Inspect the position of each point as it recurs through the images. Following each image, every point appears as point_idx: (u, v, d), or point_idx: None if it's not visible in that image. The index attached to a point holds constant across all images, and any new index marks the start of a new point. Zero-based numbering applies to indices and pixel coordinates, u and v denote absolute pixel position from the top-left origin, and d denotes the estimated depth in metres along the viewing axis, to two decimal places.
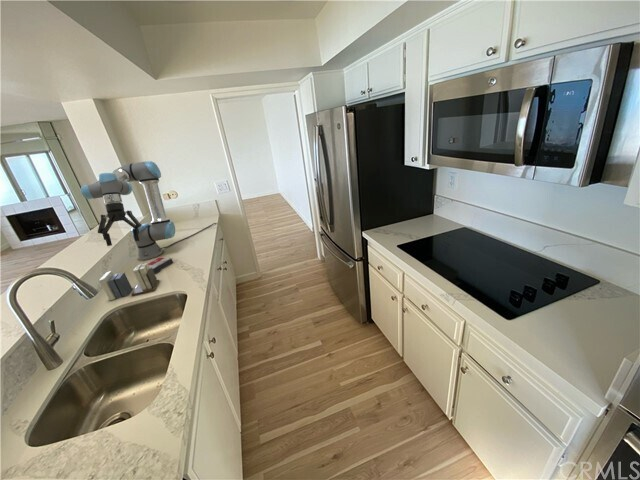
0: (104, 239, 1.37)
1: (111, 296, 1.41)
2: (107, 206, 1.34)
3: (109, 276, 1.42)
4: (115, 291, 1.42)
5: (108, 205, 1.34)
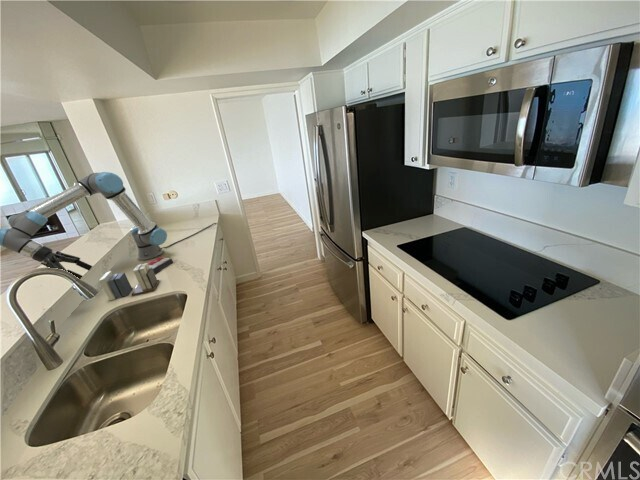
0: None
1: (111, 296, 1.41)
2: None
3: (109, 276, 1.42)
4: (115, 291, 1.42)
5: None
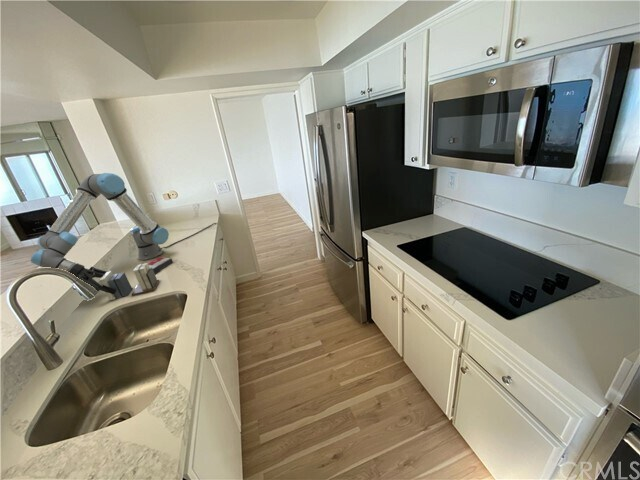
0: None
1: (111, 296, 1.41)
2: None
3: (109, 276, 1.42)
4: None
5: None
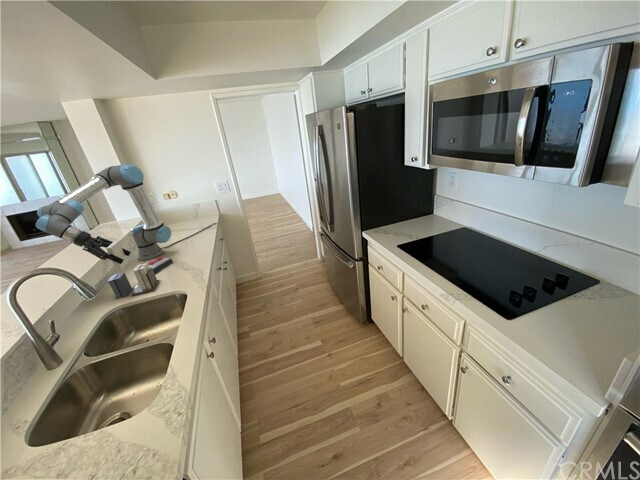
0: None
1: (118, 266, 1.37)
2: None
3: (116, 245, 1.38)
4: (115, 291, 1.42)
5: None
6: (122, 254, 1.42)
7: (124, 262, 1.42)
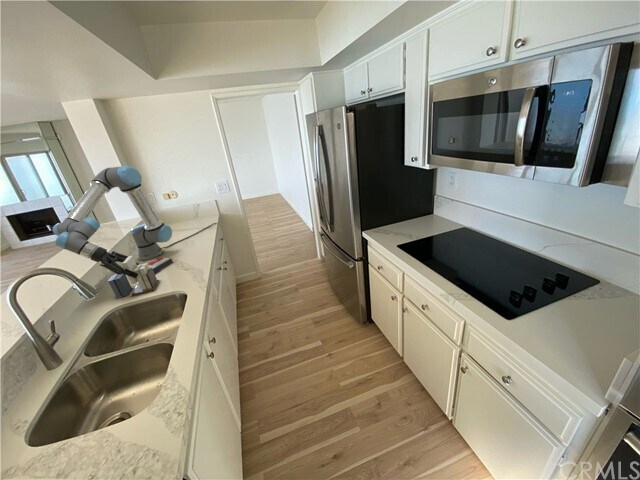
0: None
1: (133, 280, 1.41)
2: None
3: (131, 260, 1.42)
4: (115, 291, 1.42)
5: None
6: None
7: None
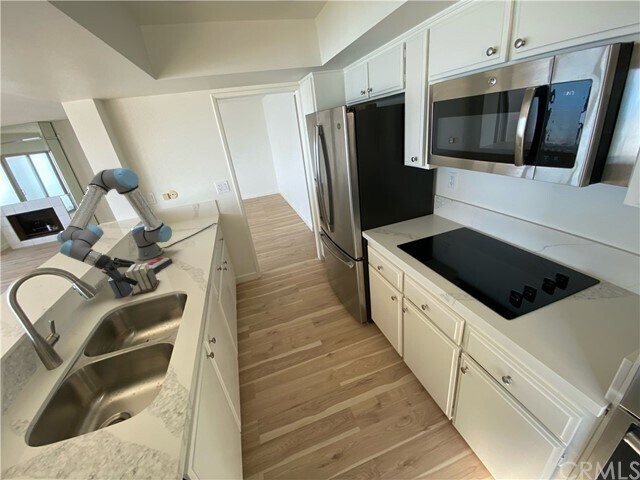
0: None
1: (137, 288, 1.44)
2: None
3: None
4: (115, 291, 1.42)
5: None
6: None
7: None
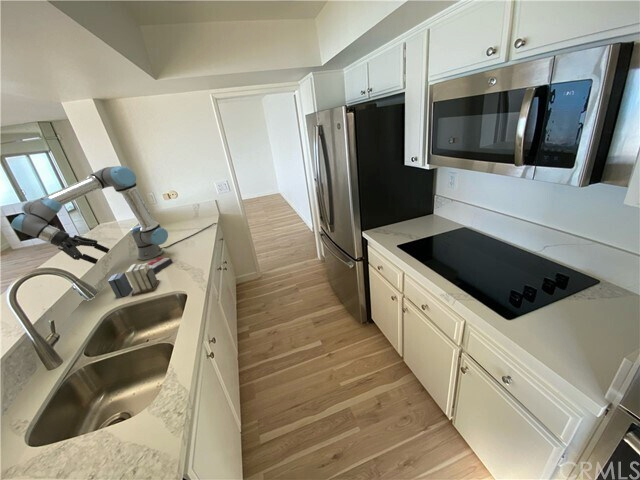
0: None
1: (137, 288, 1.44)
2: None
3: None
4: (115, 291, 1.42)
5: None
6: None
7: None
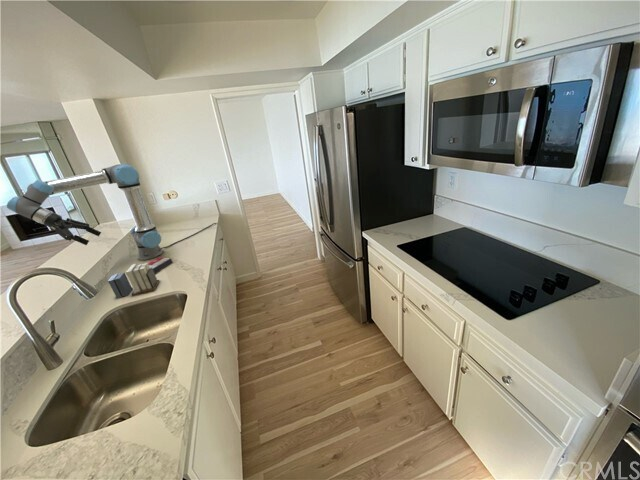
0: None
1: (137, 288, 1.44)
2: None
3: None
4: (115, 291, 1.42)
5: None
6: None
7: None
